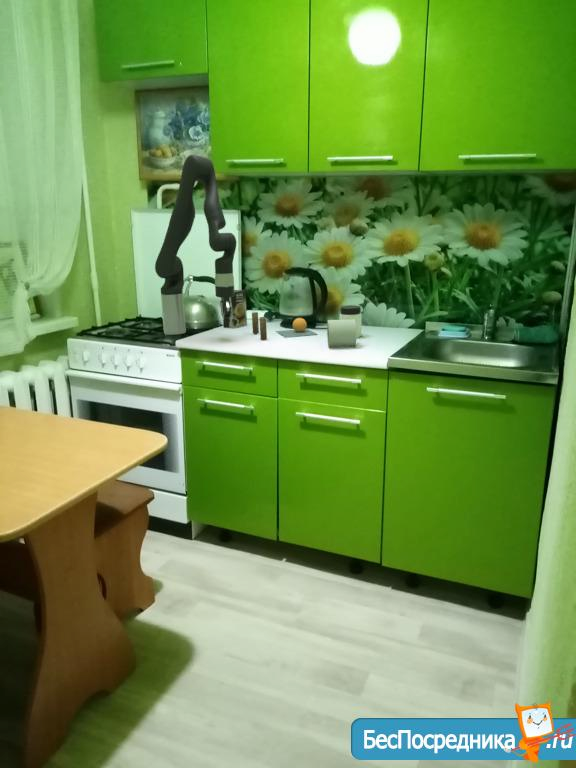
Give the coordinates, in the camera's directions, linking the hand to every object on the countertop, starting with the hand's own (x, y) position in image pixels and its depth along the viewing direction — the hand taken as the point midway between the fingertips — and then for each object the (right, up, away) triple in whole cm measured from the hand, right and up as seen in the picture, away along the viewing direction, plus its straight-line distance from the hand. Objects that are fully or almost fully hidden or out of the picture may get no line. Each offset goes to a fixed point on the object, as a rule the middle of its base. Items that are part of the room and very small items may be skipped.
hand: (226, 327), depth 241 cm
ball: (+30, +2, +11) cm, 32 cm away
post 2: (+15, -5, -1) cm, 16 cm away
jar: (+50, -4, 0) cm, 51 cm away
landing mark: (+29, -2, +10) cm, 30 cm away
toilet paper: (+45, -9, -17) cm, 49 cm away
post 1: (+11, -2, +11) cm, 16 cm away
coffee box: (+1, +3, +30) cm, 30 cm away
